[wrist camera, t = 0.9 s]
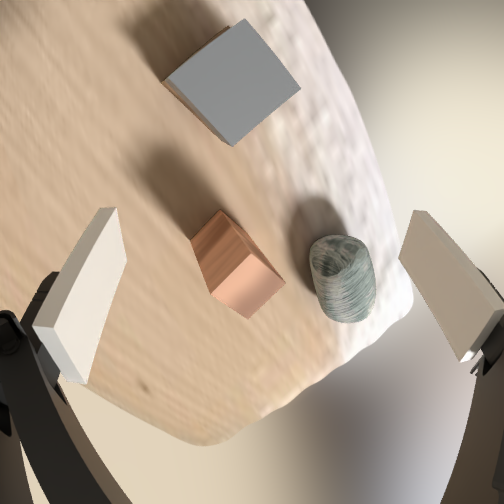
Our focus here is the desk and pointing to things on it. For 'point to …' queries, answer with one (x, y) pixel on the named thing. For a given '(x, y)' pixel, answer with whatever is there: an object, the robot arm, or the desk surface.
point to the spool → (343, 277)
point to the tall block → (234, 266)
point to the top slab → (234, 82)
